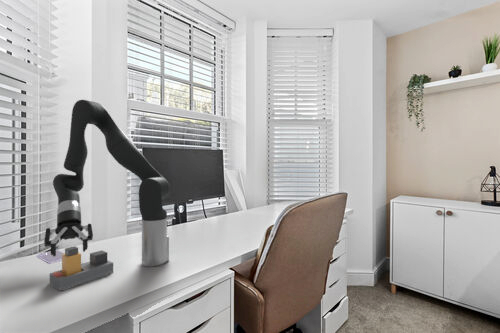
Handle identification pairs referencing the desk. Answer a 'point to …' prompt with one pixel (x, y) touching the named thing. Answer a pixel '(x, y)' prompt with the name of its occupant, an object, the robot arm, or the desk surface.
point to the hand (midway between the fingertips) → (69, 252)
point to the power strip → (84, 272)
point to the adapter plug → (71, 261)
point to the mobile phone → (51, 256)
